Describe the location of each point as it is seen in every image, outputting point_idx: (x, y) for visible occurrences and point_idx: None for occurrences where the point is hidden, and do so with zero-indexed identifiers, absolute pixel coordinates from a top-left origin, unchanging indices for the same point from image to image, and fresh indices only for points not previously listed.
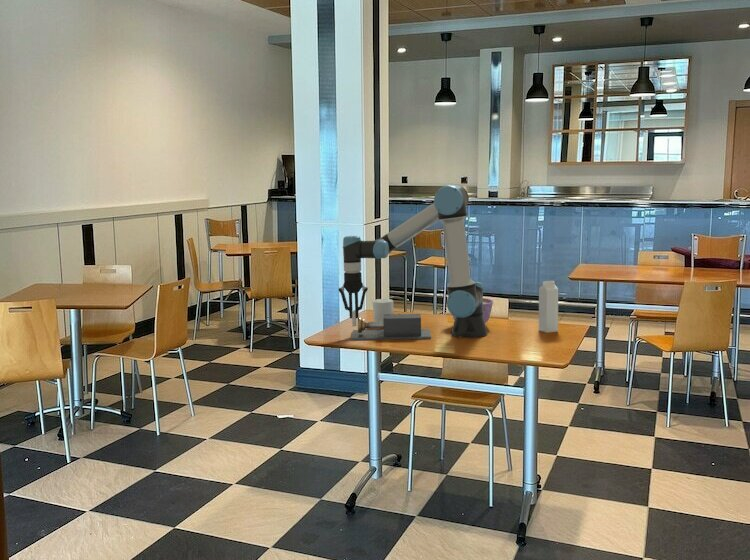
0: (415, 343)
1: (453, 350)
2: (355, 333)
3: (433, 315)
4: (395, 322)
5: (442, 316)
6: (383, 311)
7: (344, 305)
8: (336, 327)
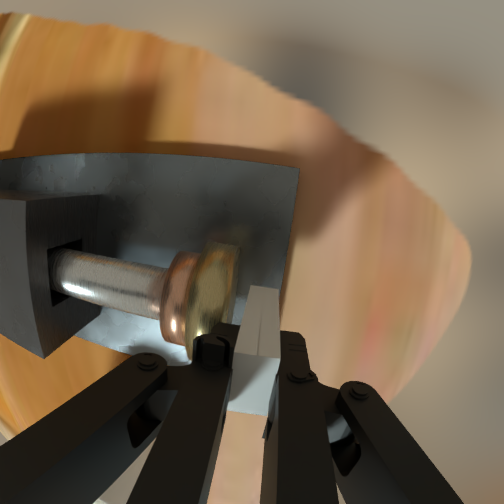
0: (30, 86)
1: (4, 28)
2: None
3: None
4: (4, 196)
5: None
6: None
7: (396, 422)
8: None
